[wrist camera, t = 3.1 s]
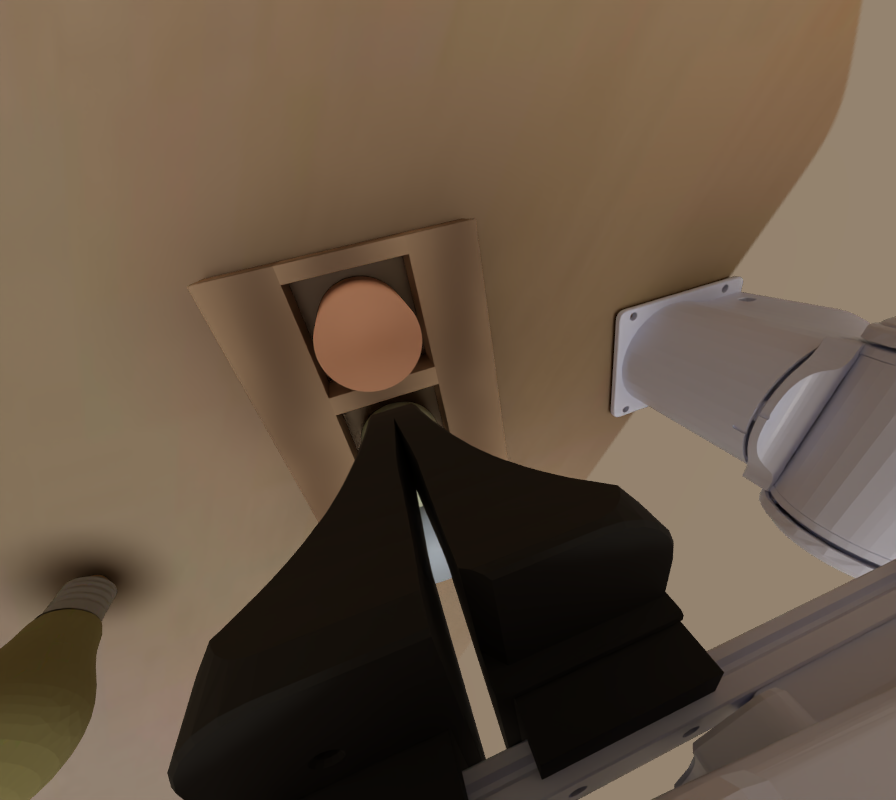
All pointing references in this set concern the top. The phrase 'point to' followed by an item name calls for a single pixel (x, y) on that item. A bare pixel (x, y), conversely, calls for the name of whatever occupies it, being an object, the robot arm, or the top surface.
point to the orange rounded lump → (366, 335)
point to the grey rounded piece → (434, 551)
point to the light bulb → (50, 686)
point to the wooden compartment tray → (322, 402)
